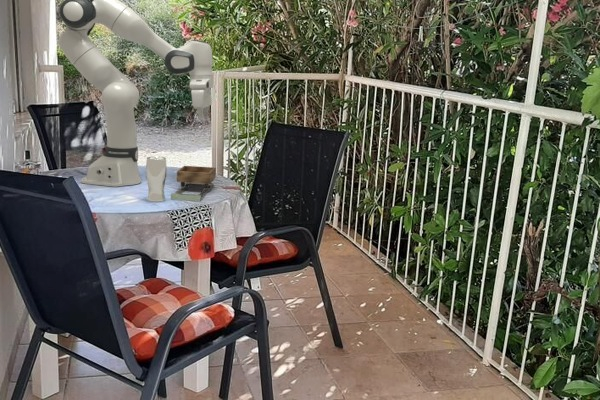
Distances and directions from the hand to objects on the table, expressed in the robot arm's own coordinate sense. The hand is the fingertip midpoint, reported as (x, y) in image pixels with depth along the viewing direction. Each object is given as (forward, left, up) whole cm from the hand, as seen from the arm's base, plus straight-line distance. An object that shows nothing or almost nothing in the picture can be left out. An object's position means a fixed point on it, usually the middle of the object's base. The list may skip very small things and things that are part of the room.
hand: (203, 118), depth 238 cm
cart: (0, -10, -25) cm, 27 cm away
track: (0, -16, -26) cm, 31 cm away
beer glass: (-10, -32, -26) cm, 42 cm away
